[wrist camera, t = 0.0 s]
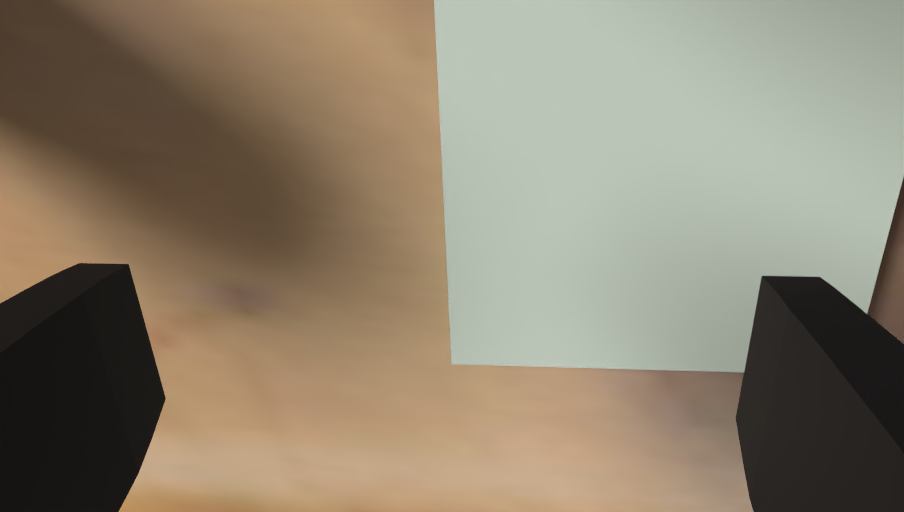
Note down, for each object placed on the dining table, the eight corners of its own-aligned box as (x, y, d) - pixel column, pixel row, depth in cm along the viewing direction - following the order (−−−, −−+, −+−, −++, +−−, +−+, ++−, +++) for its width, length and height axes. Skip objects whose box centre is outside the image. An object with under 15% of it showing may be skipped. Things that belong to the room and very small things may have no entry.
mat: (843, 360, 22) (850, 375, 21) (453, 349, 23) (451, 364, 22) (947, -47, 17) (960, -40, 16) (435, -38, 18) (432, -31, 17)
